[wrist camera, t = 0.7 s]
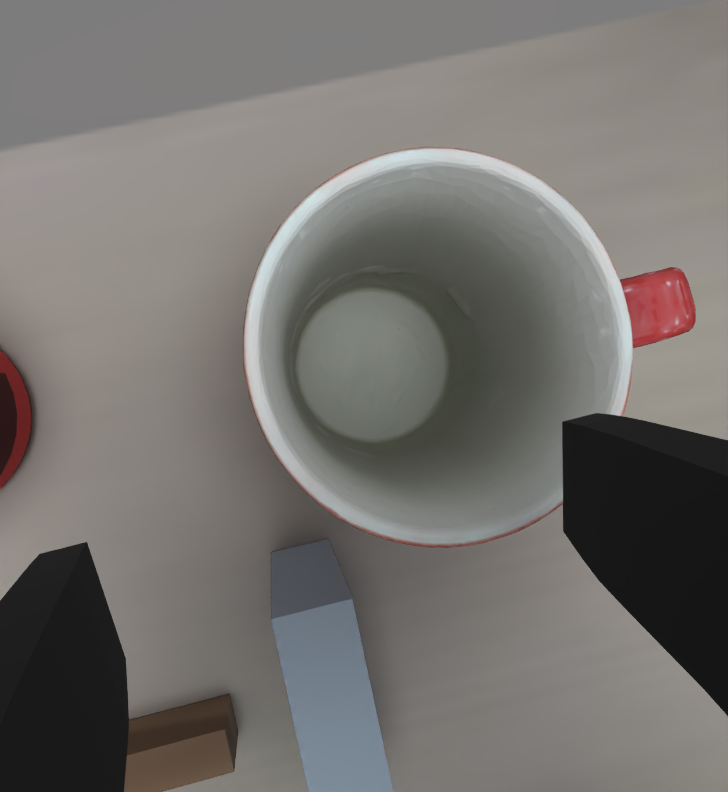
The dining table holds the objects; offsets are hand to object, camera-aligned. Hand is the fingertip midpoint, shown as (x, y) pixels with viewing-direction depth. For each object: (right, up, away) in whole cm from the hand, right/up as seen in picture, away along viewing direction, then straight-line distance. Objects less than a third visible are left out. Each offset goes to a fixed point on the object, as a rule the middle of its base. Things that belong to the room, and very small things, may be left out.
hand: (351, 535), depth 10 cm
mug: (+2, +3, +19) cm, 19 cm away
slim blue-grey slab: (-2, -8, +18) cm, 20 cm away
